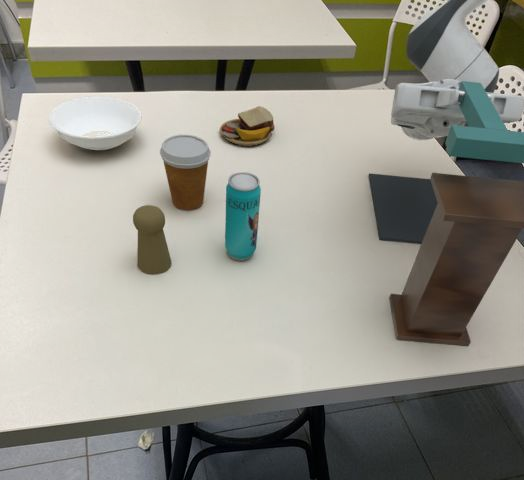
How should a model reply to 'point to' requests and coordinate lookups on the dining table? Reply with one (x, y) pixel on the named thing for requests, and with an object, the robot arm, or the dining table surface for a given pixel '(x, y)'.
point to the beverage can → (242, 215)
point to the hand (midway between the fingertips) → (474, 98)
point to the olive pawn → (151, 240)
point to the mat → (402, 207)
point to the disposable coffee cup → (186, 169)
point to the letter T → (483, 130)
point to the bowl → (95, 121)
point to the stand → (458, 257)
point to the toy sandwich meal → (249, 127)
